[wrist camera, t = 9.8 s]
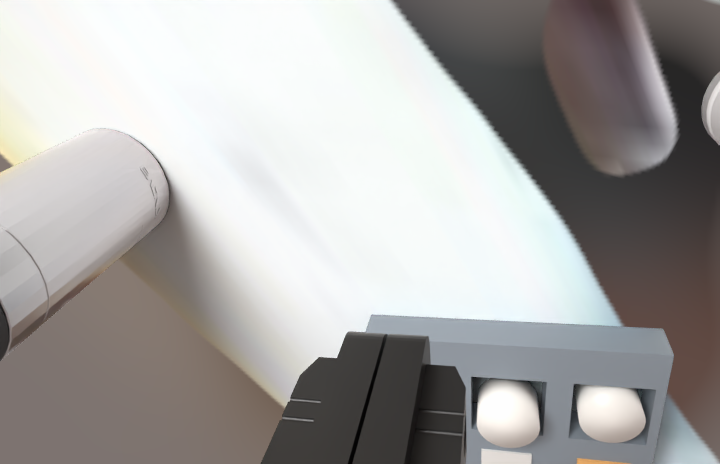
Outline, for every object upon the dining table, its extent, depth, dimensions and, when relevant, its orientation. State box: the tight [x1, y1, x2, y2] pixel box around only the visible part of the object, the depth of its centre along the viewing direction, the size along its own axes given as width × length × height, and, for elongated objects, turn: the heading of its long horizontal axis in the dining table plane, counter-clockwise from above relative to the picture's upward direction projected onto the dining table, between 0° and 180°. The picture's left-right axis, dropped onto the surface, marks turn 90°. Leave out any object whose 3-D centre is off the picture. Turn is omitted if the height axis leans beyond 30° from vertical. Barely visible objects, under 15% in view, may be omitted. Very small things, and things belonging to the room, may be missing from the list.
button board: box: [365, 315, 674, 464], centre depth 46 cm, size 22×16×3 cm
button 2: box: [574, 384, 646, 443], centre depth 43 cm, size 5×5×3 cm
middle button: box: [477, 378, 540, 448], centre depth 44 cm, size 5×5×3 cm
